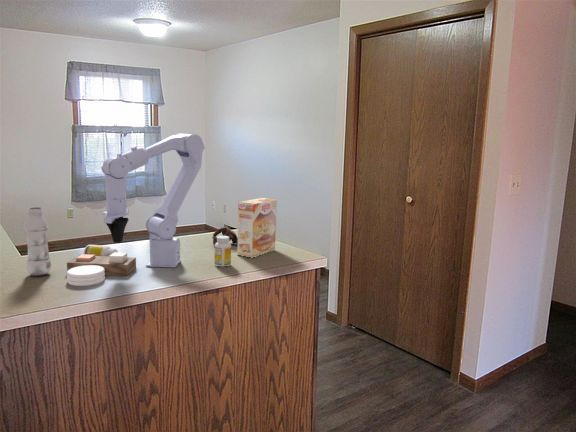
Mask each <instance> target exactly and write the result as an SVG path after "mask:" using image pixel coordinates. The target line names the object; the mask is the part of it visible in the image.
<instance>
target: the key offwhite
mask: <svg viewBox="0 0 576 432" xmlns="http://www.w3.org/2000/svg"><path fill="white" fill-rule="evenodd" d="M127 257H128V252H119V251H118V252H114V253H113V254H111V255H110V256H109V262H110V263H124V262H126V261H127Z"/></svg>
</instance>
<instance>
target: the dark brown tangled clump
mask: <svg viewBox="0 0 576 432" xmlns="http://www.w3.org/2000/svg"><path fill="white" fill-rule="evenodd" d="M219 234H221V236H228V237H229V242H230V241H232V242H231V243H235V244H236V245H237V247H238V234H236V232H235V231H234V230H232V229H230V227H227V226H224V227H221V228H218V229H217V230H216V231H215V232H213V234H212V244H213V246H214V247H215V244H216V243H217V237H218V236H219Z"/></svg>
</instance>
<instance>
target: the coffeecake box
mask: <svg viewBox="0 0 576 432" xmlns="http://www.w3.org/2000/svg"><path fill="white" fill-rule="evenodd" d="M277 201H278V200H277V199H275V198H269V197H268V198H267V197H259V198H258V197H257V198H253V199H248V200H243V201H238V202H237V203H238V209H237V210H238V211H237V215H238V217H237V220H238V221H237V238H238V246H237V256H238V255H241V256H240V257H243V256H246V257H245V258H247V257H252V258H253V257H255V258H257V257H256V256H258V257H260V256H259V255H261V254H263V255H265V254H264V253H266V254H268V253H267V252H269V253H271V252H273V251H272V250H274V251H275V250H276V235H277V234H276V230H277V229H276V228H277V203H278V202H277ZM270 251H271V252H270ZM261 256H262V255H261ZM252 258H251V259H252ZM253 259H254V258H253Z"/></svg>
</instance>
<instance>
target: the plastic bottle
mask: <svg viewBox="0 0 576 432" xmlns="http://www.w3.org/2000/svg"><path fill="white" fill-rule="evenodd" d="M27 211H28V212H27V215H28V218H27V219H26V220H25V222H24V223H23V230H24V235H25V239H26V245H27V260H26V270H27V273H28V274H29V275H30V276H44V275H48V274H50V272H51V271H52V261H51V257H50V252H49V244H48V243H49V239H48V238H49V226H50V225H49V223H48V220H46V218H45V217H44V216H43V215H44V212H43V207H39V206H38V207H37V206H35V207H28V208H27Z"/></svg>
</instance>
